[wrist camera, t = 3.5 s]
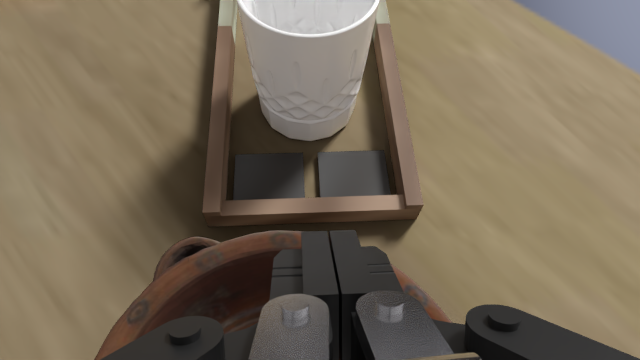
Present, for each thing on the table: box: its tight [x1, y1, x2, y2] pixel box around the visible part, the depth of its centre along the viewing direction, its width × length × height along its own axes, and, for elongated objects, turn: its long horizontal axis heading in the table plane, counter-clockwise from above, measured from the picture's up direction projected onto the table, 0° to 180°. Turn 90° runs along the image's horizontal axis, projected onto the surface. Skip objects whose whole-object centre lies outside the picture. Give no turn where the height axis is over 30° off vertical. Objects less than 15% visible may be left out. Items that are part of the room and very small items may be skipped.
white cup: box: [236, 0, 380, 141], centre depth 29 cm, size 8×8×10 cm
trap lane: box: [202, 0, 423, 227], centre depth 33 cm, size 13×24×3 cm, turn 3°
